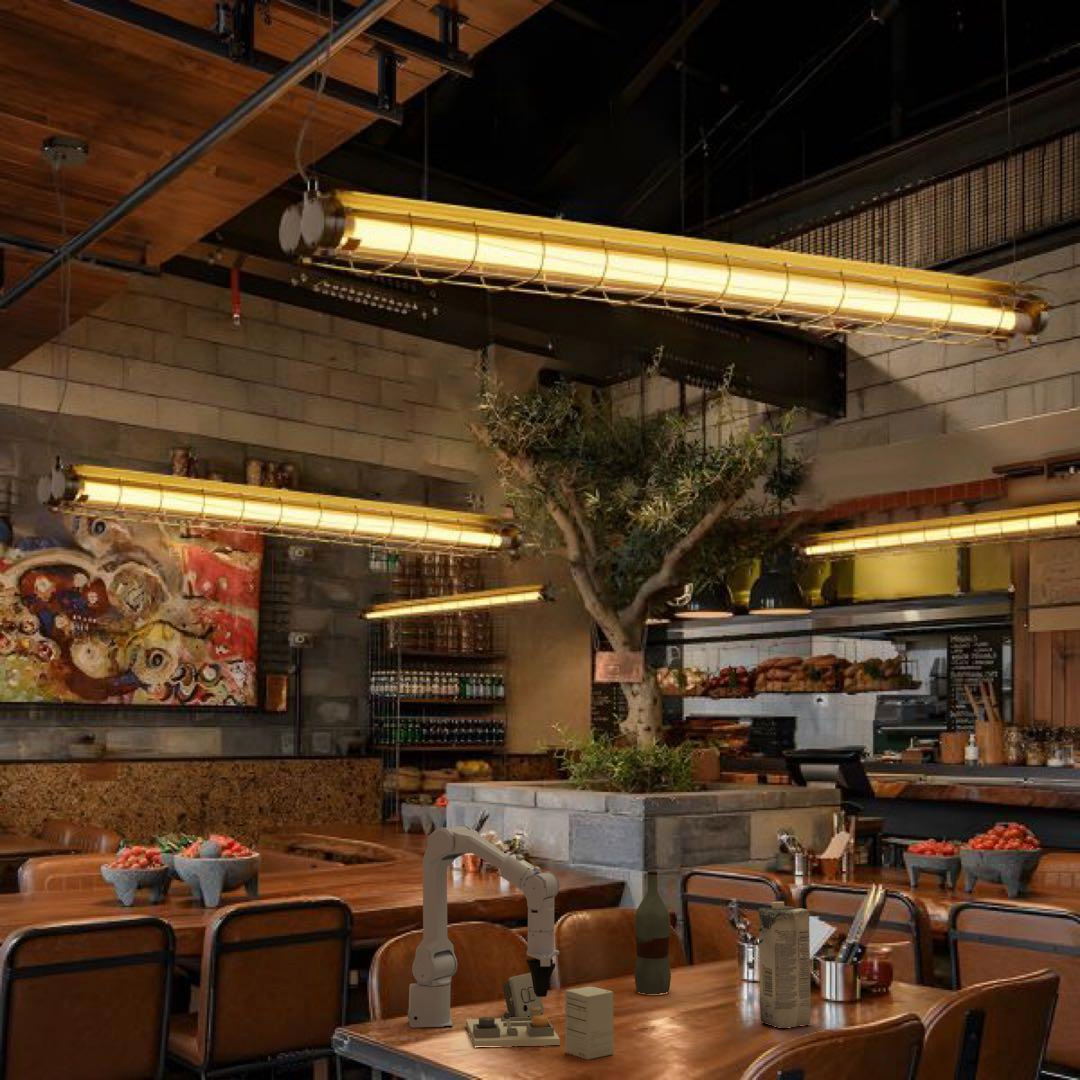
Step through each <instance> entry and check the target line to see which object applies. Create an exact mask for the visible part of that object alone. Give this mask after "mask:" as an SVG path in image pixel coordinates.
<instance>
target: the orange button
mask: <svg viewBox="0 0 1080 1080" xmlns="http://www.w3.org/2000/svg"><path fill="white" fill-rule="evenodd" d="M548 1021H549V1017H548V1016H546V1015H541V1016H534V1017H532V1026H534V1027H546V1026H548Z"/></svg>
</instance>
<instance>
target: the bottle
mask: <svg viewBox="0 0 1080 1080" xmlns="http://www.w3.org/2000/svg"><path fill="white" fill-rule="evenodd" d="M646 872H647V890H646V893H645V895H644V897H643V899H642V900H641V902H640V904H639V905H638V907H637V908H636V912H635V915H634V931H635V932H634V933H635V946H636V960H635V969H634V985H635V989H636V993H637V992H640V993H645V994H660V993H666V992H668V991H669V992H670V987H671V979H672V975H671V974H672V973H671V964H670V958H669V951H670V950H669V949H670V937H671V935H670V934H671V928H672V925H671V917H670V913H669V909H668V907H667V906H666V903H665V902H664V900H663V899H662V897H661V895H660V894H659V892H658V873H659V871H658V870H657V869H648V870H647V871H646ZM669 992H668V993H669Z"/></svg>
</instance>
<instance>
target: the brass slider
mask: <svg viewBox="0 0 1080 1080" xmlns="http://www.w3.org/2000/svg"><path fill="white" fill-rule="evenodd" d="M534 1016H542V1013H541V1008H540V1007H531V1011H530V1016H529V1017H530V1020H531V1022H532V1017H534Z"/></svg>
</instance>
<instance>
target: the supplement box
mask: <svg viewBox="0 0 1080 1080" xmlns="http://www.w3.org/2000/svg"><path fill="white" fill-rule="evenodd" d="M564 999H565V1001H564V1002H565V1004H564V1005H565V1009H564V1010H565V1014H564V1017H565V1020H564V1021H565V1027H564V1028H565V1033H564V1034H565V1036H564V1037H565V1038H564V1039H565V1043H564V1044H565V1045H564V1046H565V1047H564V1049H565V1053H566V1052H567V1053H566V1054H568V1053H570V1054H569V1055H571V1054H573V1055H572V1056H574V1055H575V1056H574V1057H577V1056H578V1057H577V1058H580V1057H581V1059H584V1060H587V1061H588V1060H592V1059H596V1058H602V1057H606V1056H607V1057H608V1056H611V1055H614V1053H615V1052H614V1050H615V1048H614V1045H615V1044H614V1042H615V1041H614V1039H615V1038H614V991H611V990H607V989H604V988H599V987H595V986H593V985H592V986H585V987H581V988H580V987H579V988H573V989H567V990H565V998H564Z"/></svg>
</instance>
